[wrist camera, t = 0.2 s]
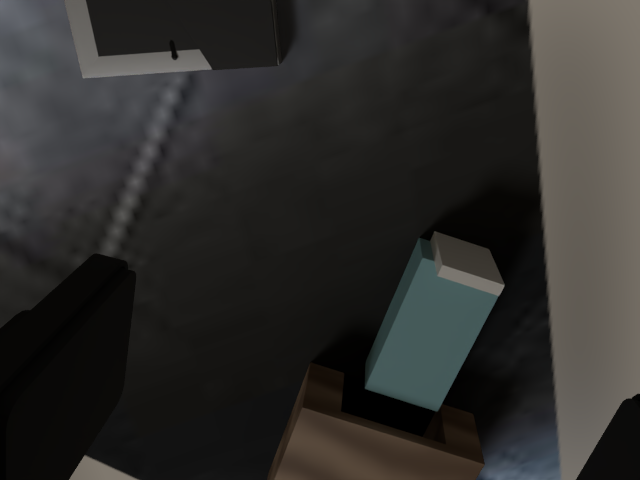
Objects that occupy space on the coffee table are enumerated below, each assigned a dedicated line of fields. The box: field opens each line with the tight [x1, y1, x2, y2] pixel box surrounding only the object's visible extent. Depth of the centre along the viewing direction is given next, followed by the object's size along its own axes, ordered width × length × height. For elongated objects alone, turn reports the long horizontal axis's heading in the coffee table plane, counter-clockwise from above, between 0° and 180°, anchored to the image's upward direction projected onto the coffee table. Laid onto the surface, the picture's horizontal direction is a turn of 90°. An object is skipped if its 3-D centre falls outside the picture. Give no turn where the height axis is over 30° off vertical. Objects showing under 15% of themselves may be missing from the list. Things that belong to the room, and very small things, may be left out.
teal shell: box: [365, 231, 505, 412], centre depth 48 cm, size 15×7×6 cm, turn 163°
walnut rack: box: [267, 362, 485, 480], centre depth 55 cm, size 16×17×6 cm
